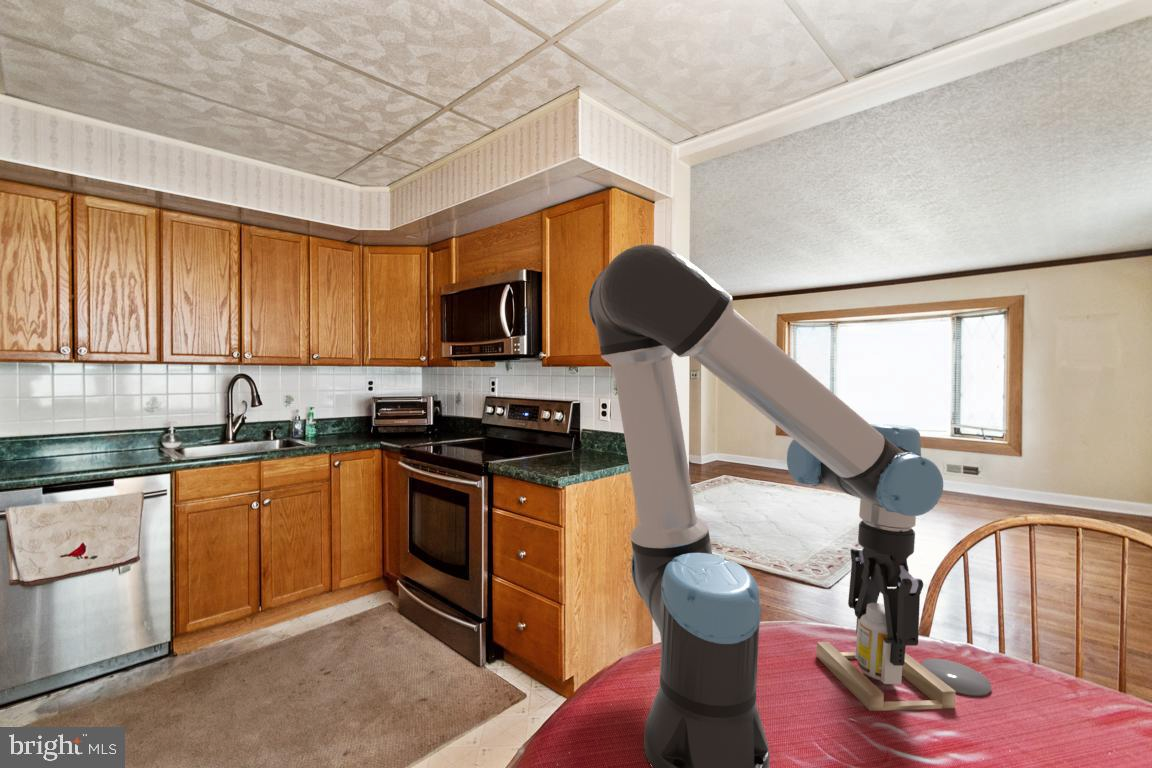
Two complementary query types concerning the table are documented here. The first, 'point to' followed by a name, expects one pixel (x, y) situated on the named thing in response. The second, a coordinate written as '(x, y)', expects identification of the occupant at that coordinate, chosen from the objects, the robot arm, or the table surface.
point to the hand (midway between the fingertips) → (877, 670)
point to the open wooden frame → (872, 695)
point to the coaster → (959, 677)
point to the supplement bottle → (872, 640)
